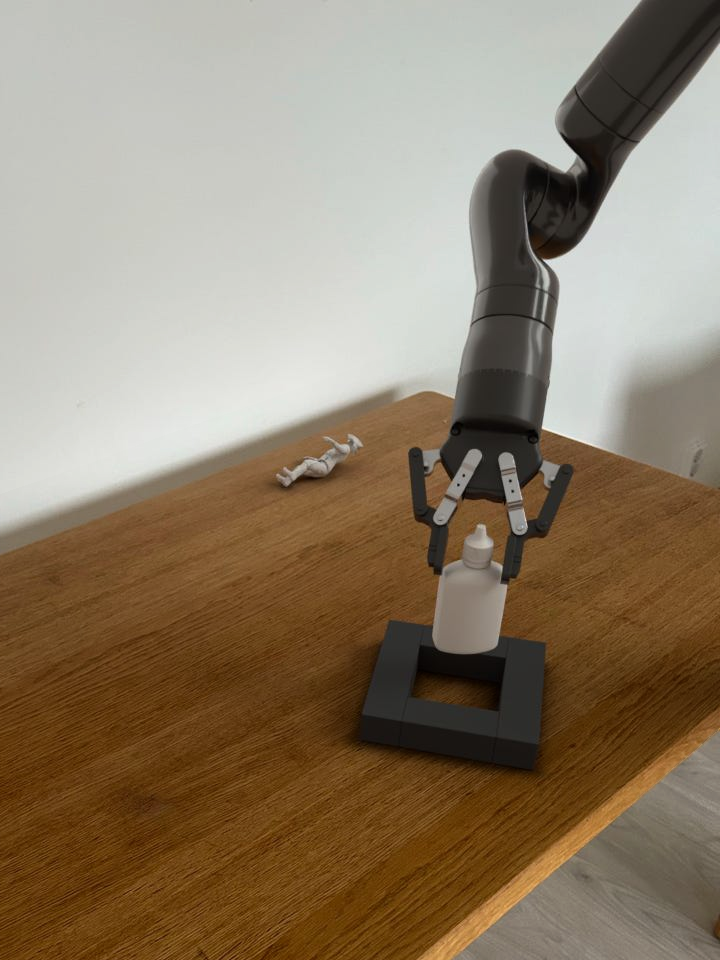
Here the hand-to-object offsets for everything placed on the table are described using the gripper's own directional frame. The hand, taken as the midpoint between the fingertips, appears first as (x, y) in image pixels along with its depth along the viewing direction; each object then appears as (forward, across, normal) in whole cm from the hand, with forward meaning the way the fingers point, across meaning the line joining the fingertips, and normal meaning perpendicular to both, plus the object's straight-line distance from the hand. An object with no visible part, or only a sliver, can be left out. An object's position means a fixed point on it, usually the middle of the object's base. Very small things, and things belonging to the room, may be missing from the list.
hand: (471, 576), depth 84 cm
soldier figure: (-20, -22, +42) cm, 51 cm away
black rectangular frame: (+9, 0, +12) cm, 15 cm away
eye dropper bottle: (+5, 0, +7) cm, 9 cm away
